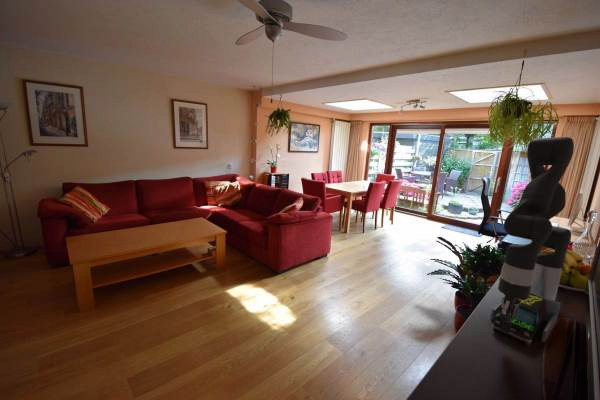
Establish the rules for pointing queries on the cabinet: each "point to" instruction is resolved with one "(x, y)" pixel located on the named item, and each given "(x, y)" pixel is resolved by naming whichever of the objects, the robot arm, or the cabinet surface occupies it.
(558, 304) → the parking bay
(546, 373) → the cabinet surface
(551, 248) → the robot arm
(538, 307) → the toy van
